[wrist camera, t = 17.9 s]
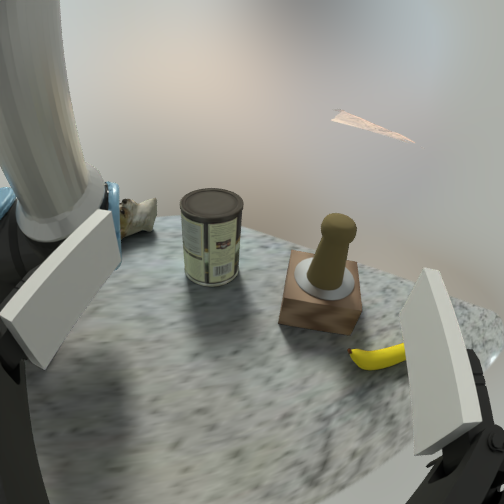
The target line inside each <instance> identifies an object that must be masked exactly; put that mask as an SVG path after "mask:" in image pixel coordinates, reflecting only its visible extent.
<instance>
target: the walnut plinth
mask: <svg viewBox="0 0 504 504" xmlns="http://www.w3.org/2000/svg"><path fill="white" fill-rule="evenodd" d="M314 255H315V254H312V253H306V252H301V251H296V250H291V255H290V260H289V265H288V270H287V275H286V281H285V287H284V293H283V299H282V304H281V310H280V316H279V321H278V324H283V325H289V326H295V327H300V328H306V329H312V330H318V331H324V332H330V333H337V334H343V335H351V333H352V331H353V329H354V327H355V325H356V323H357V321H358V319H359V316H360V314H361V312H362V304H361V294H360V284H359V275H358V267H357V262H355V261H349V260H346V266H345V271H344V277H343V282H342V285H341V286H340V287H339V288H338V289H336V290H330V291H328V290H322V289H319V288H317V287H315V286H313V285H312V284H311V283H310V282H309V281H308V279H307V274H306V273H307V271H308V269H309V266H310V264H311V262H312V259H313V257H314Z"/></svg>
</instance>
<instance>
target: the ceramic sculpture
mask: <svg viewBox="0 0 504 504" xmlns="http://www.w3.org/2000/svg"><path fill="white" fill-rule="evenodd" d="M119 209H120V235H121V239H123V238H124V237H126V236H129V235H131V234H134V233H136V232H139V231H141V230H145V231H147V232H151V231H152V229H153V225H154V221H155V218H156V216H157V200H156V198H153V199H149V200H146V201H145V202H142V203H139V204H137V203H136V202H135V201H133V200H130V199H123V200H122V203H119Z"/></svg>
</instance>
